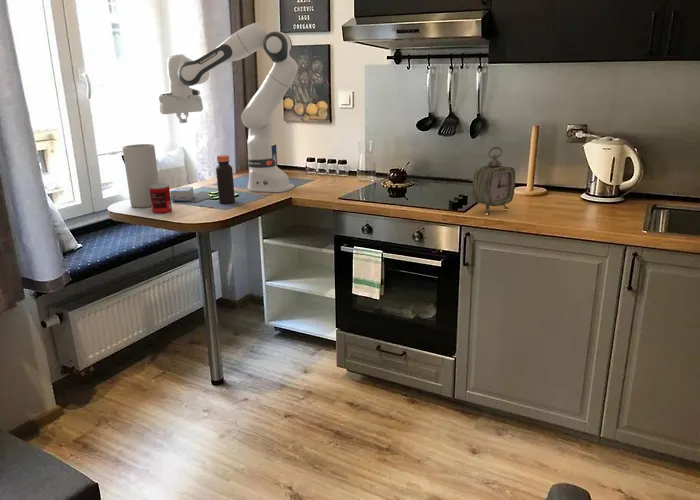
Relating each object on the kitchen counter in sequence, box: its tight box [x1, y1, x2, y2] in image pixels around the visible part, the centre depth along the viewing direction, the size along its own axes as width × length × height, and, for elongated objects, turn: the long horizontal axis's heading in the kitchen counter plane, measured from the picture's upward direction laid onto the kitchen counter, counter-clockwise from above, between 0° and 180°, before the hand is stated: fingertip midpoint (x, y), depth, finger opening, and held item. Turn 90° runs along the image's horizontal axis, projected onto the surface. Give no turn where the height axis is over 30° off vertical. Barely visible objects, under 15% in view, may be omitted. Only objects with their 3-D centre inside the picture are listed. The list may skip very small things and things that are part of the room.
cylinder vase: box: [122, 143, 160, 209], centre depth 241 cm, size 12×12×25 cm
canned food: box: [149, 182, 173, 215], centre depth 231 cm, size 8×8×11 cm
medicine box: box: [170, 186, 195, 202], centre depth 252 cm, size 8×4×9 cm
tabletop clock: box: [472, 146, 516, 214], centre depth 216 cm, size 14×9×25 cm, turn 124°
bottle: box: [215, 154, 236, 205], centre depth 242 cm, size 7×7×20 cm
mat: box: [186, 190, 212, 203], centre depth 257 cm, size 12×18×1 cm, turn 154°
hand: (183, 122), depth 265 cm, fingers closed
